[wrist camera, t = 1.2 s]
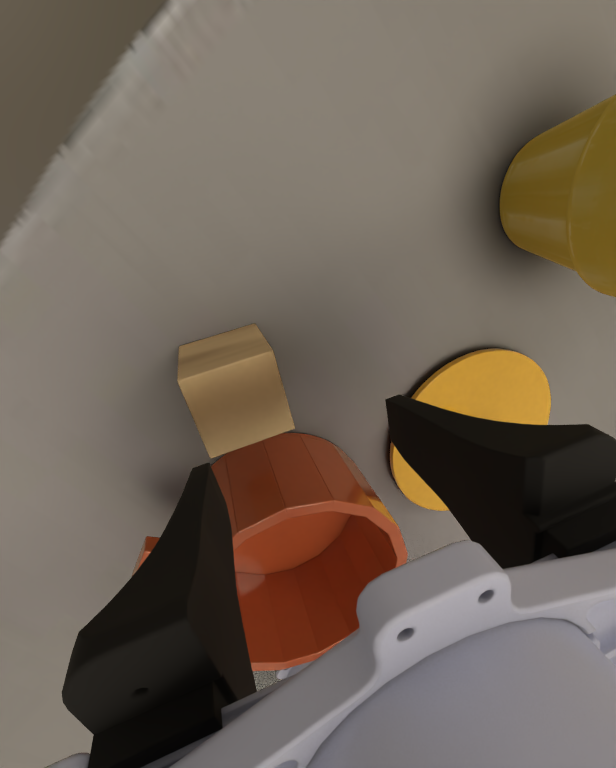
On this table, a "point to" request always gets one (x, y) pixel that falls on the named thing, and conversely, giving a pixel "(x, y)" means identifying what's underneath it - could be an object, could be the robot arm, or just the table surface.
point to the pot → (300, 545)
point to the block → (233, 389)
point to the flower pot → (568, 196)
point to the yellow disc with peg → (478, 403)
